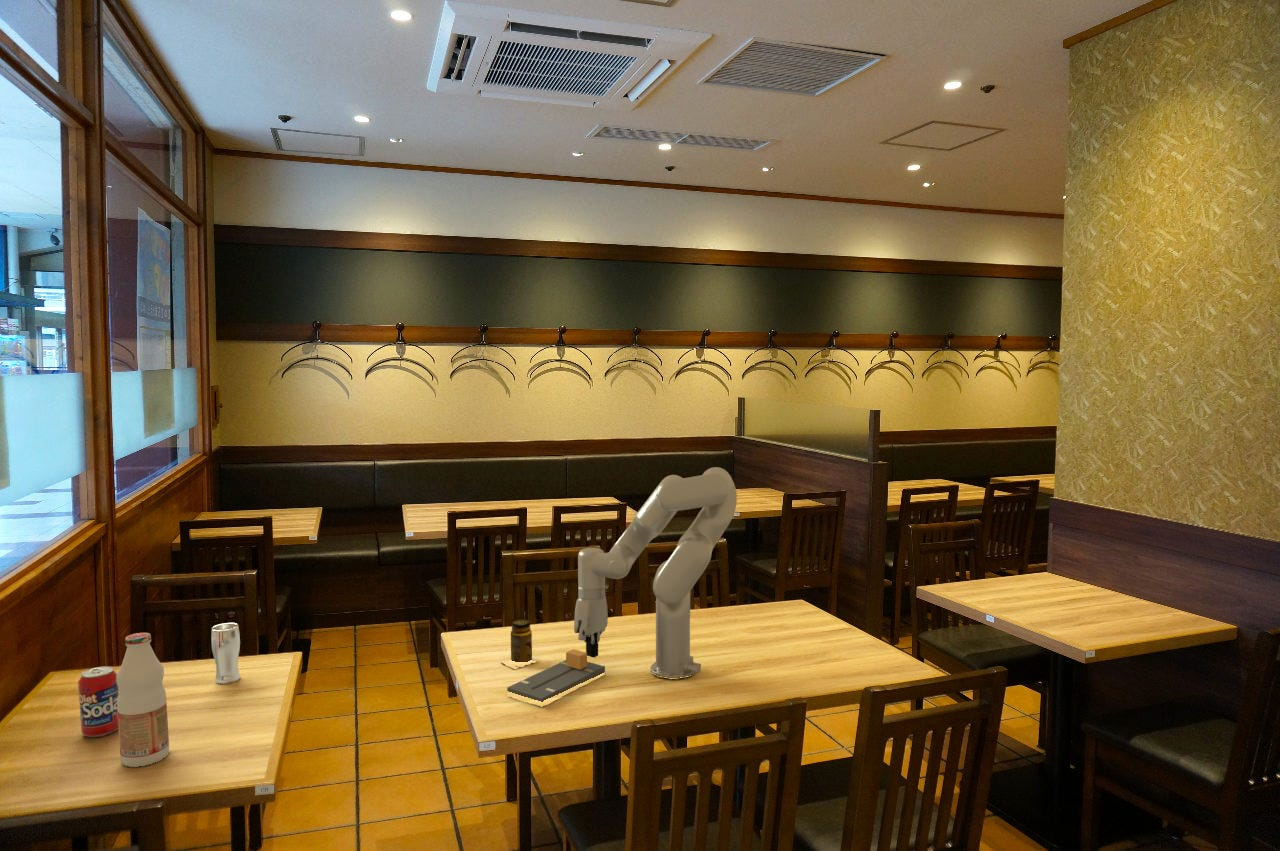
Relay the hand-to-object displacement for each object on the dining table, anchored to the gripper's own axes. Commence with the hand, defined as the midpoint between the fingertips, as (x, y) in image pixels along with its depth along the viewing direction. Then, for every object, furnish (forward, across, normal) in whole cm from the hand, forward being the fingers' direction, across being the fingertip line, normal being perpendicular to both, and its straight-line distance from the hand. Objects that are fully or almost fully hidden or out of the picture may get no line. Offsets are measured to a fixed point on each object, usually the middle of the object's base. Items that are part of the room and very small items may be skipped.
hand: (592, 655), depth 239 cm
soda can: (+4, +98, -70) cm, 121 cm away
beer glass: (+4, +64, -77) cm, 100 cm away
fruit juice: (+4, +98, -48) cm, 110 cm away
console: (+4, +15, 0) cm, 15 cm away
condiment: (+4, +9, -20) cm, 22 cm away
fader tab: (+1, +7, 0) cm, 7 cm away
